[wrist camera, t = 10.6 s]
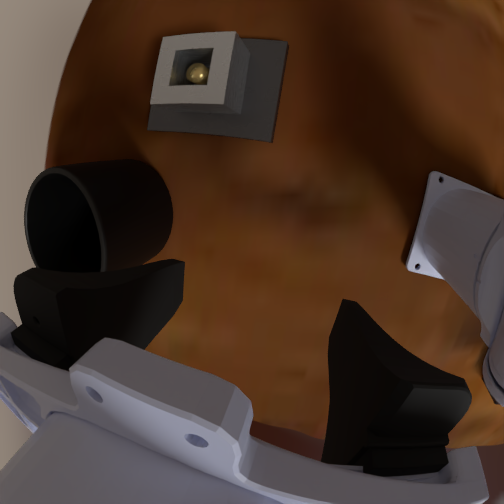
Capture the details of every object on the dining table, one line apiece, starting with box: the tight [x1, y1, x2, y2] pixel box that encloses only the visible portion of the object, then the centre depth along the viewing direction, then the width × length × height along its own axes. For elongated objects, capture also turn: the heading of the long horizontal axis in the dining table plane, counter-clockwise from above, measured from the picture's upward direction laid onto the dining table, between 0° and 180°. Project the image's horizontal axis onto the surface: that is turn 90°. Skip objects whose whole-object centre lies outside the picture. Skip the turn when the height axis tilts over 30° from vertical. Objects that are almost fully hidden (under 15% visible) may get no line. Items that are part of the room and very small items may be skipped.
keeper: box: [147, 38, 289, 143], centre depth 17 cm, size 10×8×4 cm
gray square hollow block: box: [150, 32, 250, 115], centre depth 16 cm, size 5×5×4 cm
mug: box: [24, 159, 173, 273], centre depth 19 cm, size 9×12×9 cm
